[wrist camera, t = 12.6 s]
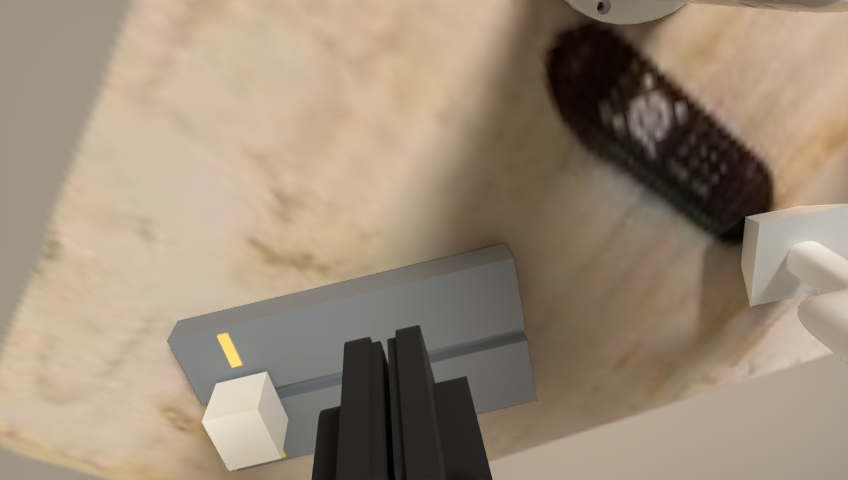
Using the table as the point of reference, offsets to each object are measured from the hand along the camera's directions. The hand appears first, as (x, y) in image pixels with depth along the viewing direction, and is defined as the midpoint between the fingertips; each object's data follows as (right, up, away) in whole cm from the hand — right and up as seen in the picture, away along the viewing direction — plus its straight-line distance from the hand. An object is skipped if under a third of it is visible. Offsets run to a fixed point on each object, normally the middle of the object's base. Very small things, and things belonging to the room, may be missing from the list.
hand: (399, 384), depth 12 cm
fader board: (-4, -6, +33) cm, 34 cm away
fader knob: (-13, -9, +31) cm, 35 cm away
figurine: (+28, +4, +32) cm, 43 cm away
